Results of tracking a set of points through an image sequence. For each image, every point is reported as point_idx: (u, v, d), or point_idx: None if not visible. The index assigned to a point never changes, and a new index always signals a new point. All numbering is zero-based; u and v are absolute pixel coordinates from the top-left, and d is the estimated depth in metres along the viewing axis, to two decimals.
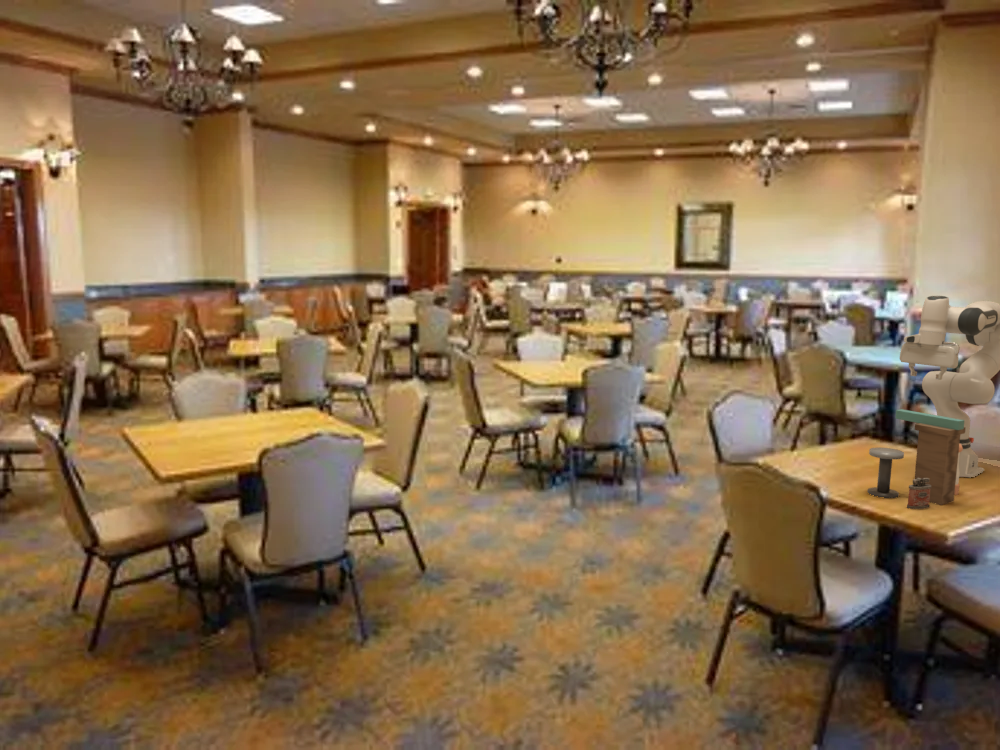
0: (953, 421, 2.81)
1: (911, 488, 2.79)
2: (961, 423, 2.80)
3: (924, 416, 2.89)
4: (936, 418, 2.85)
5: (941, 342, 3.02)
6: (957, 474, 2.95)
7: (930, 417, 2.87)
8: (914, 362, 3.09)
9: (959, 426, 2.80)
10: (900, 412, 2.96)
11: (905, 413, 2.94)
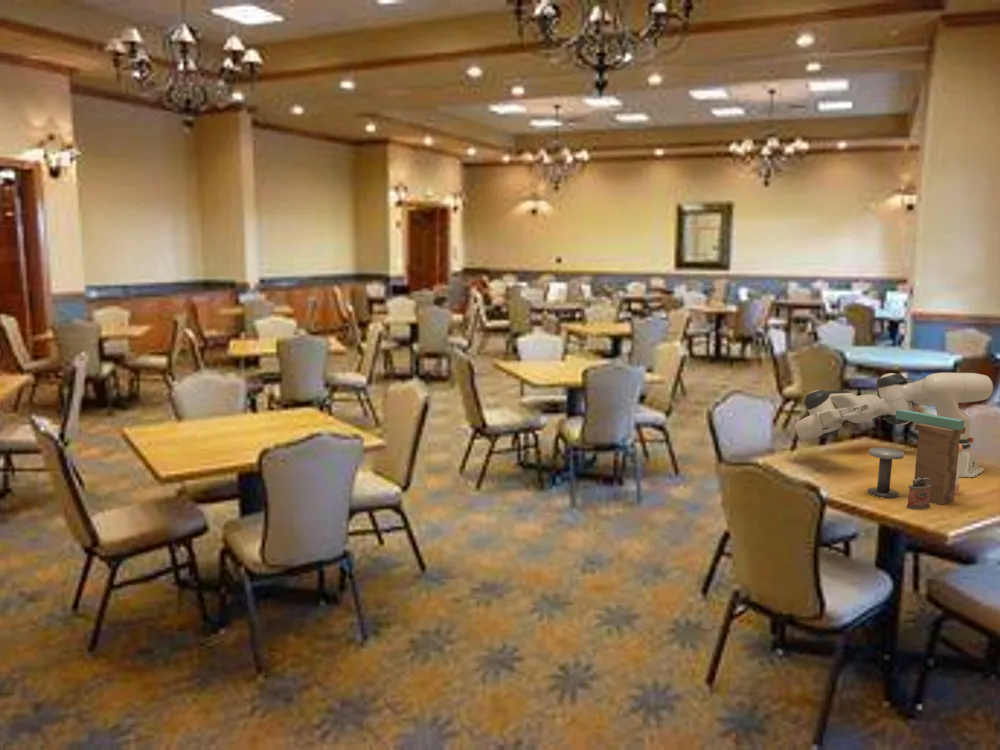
0: (953, 421, 2.81)
1: (911, 488, 2.79)
2: (961, 423, 2.80)
3: (924, 416, 2.89)
4: (936, 418, 2.85)
5: None
6: (957, 474, 2.95)
7: (930, 417, 2.87)
8: (841, 408, 3.16)
9: (959, 426, 2.80)
10: (900, 412, 2.96)
11: (905, 413, 2.94)
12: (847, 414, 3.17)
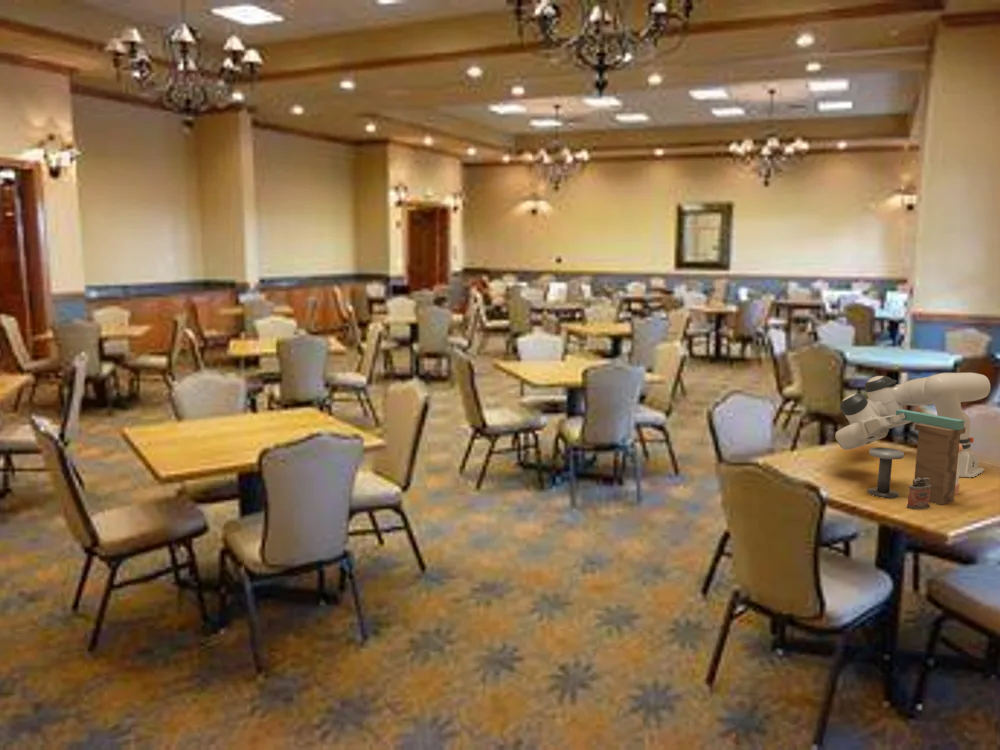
0: (953, 421, 2.81)
1: (911, 488, 2.79)
2: (961, 423, 2.80)
3: (924, 416, 2.89)
4: (936, 418, 2.85)
5: None
6: (957, 474, 2.95)
7: (930, 417, 2.87)
8: (887, 416, 2.97)
9: (959, 426, 2.80)
10: (900, 412, 2.96)
11: (905, 413, 2.94)
12: (894, 422, 2.98)
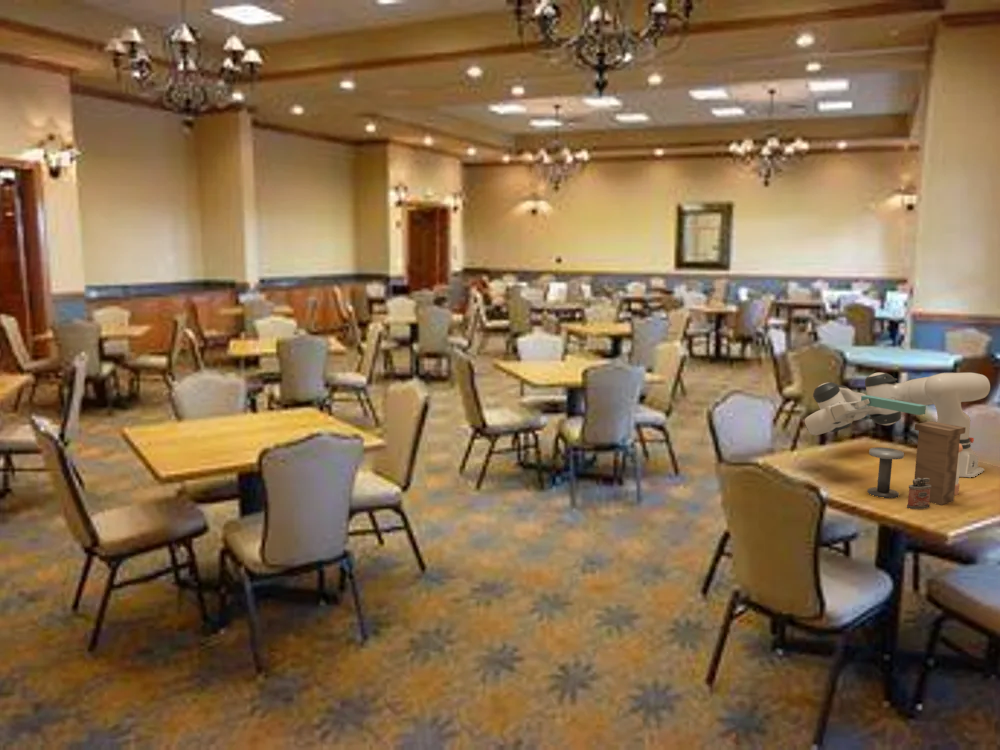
0: (915, 406, 2.87)
1: (911, 488, 2.79)
2: (922, 408, 2.86)
3: (887, 401, 2.95)
4: (899, 403, 2.91)
5: None
6: (957, 474, 2.95)
7: (893, 402, 2.93)
8: (853, 401, 3.03)
9: (921, 411, 2.86)
10: (865, 398, 3.02)
11: (870, 399, 3.00)
12: (860, 407, 3.05)
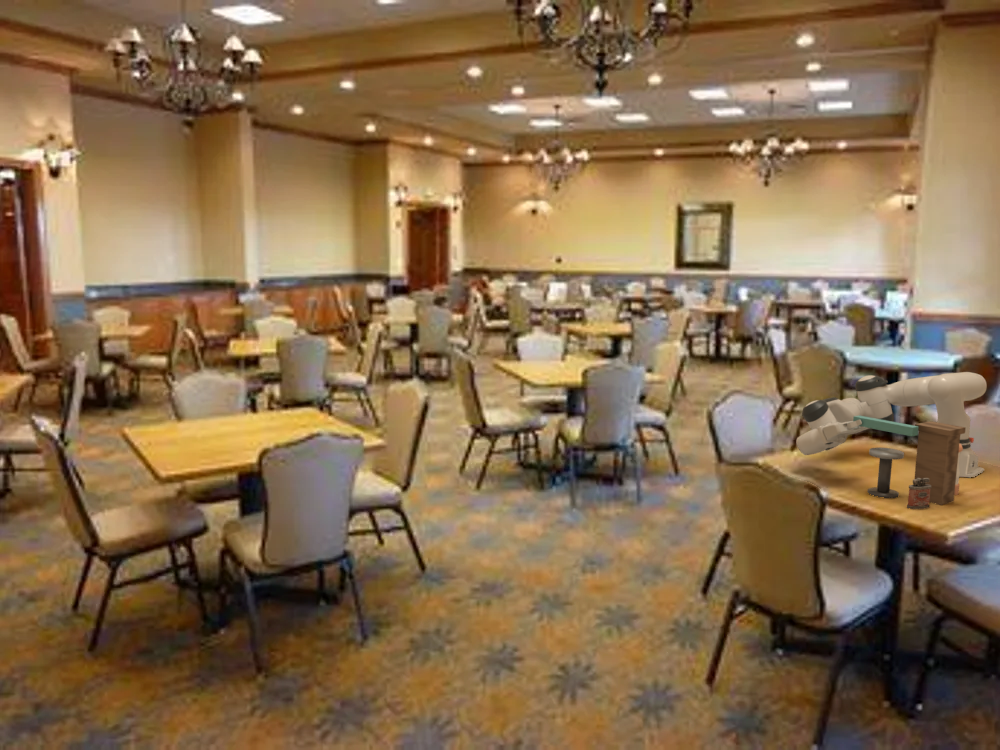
0: (907, 427, 2.84)
1: (911, 488, 2.79)
2: (915, 429, 2.84)
3: (880, 422, 2.92)
4: (891, 424, 2.89)
5: None
6: (957, 474, 2.95)
7: (885, 423, 2.90)
8: (845, 422, 3.01)
9: (913, 432, 2.83)
10: (857, 418, 2.99)
11: (862, 419, 2.98)
12: (852, 428, 3.02)
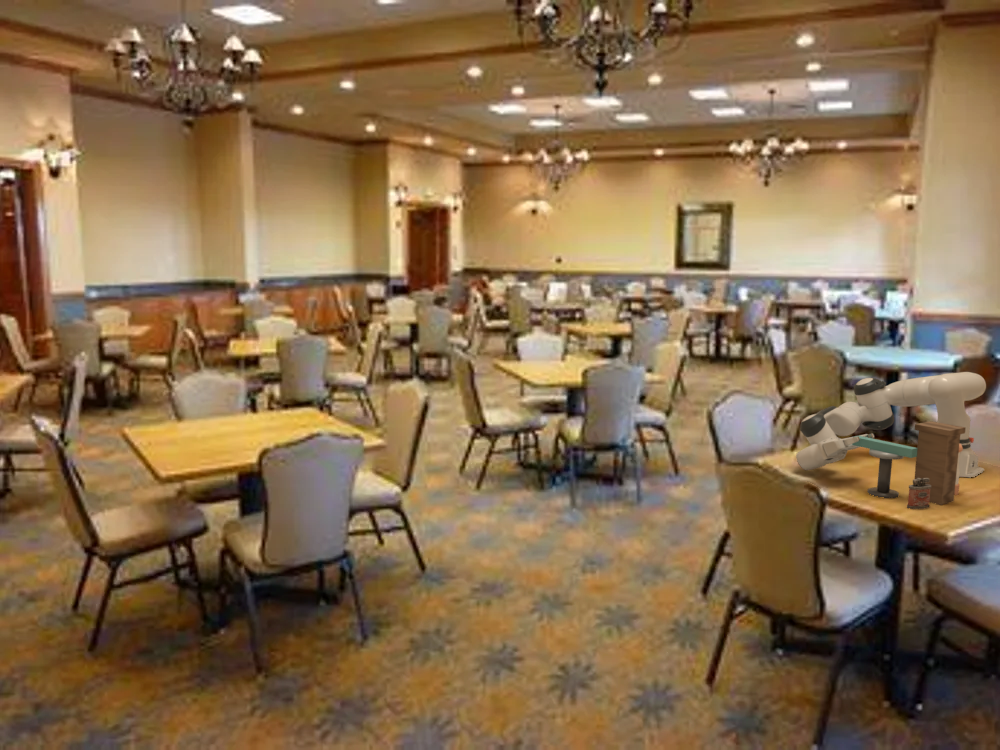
0: (906, 449, 2.85)
1: (911, 488, 2.79)
2: (914, 451, 2.85)
3: (879, 443, 2.93)
4: (890, 445, 2.90)
5: None
6: (957, 474, 2.95)
7: (885, 444, 2.92)
8: (845, 438, 3.02)
9: (912, 453, 2.85)
10: None
11: (861, 440, 2.99)
12: None
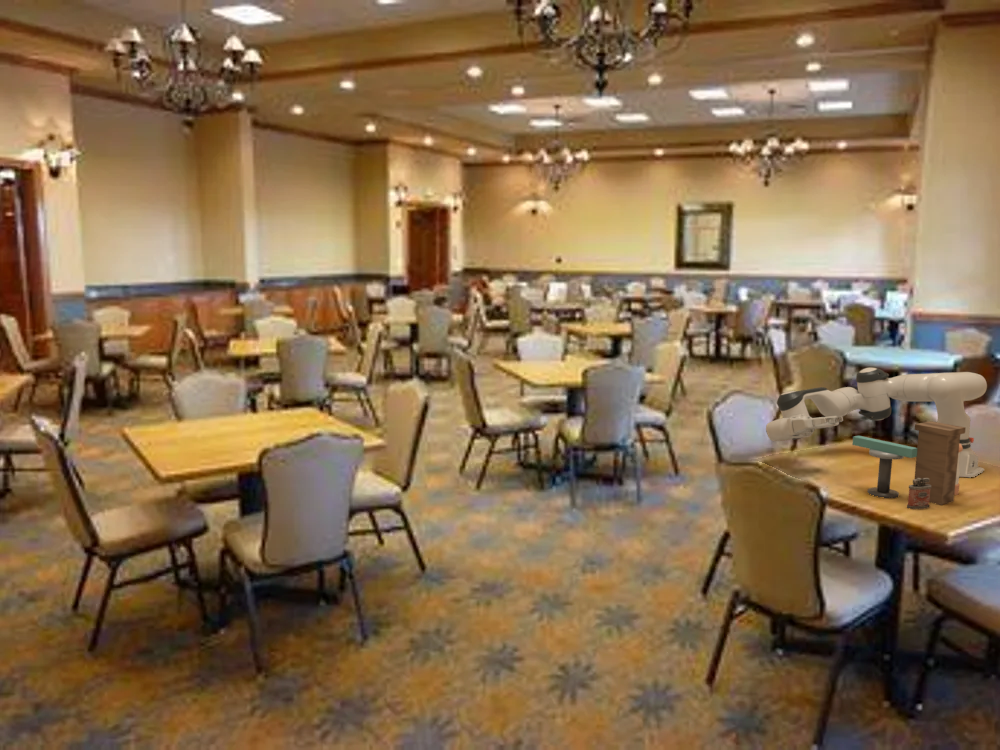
0: (906, 449, 2.85)
1: (911, 488, 2.79)
2: (914, 451, 2.85)
3: (879, 443, 2.93)
4: (890, 445, 2.90)
5: None
6: (957, 474, 2.95)
7: (885, 444, 2.92)
8: (814, 418, 3.13)
9: (912, 453, 2.85)
10: (857, 439, 3.01)
11: (861, 440, 2.99)
12: (820, 424, 3.14)
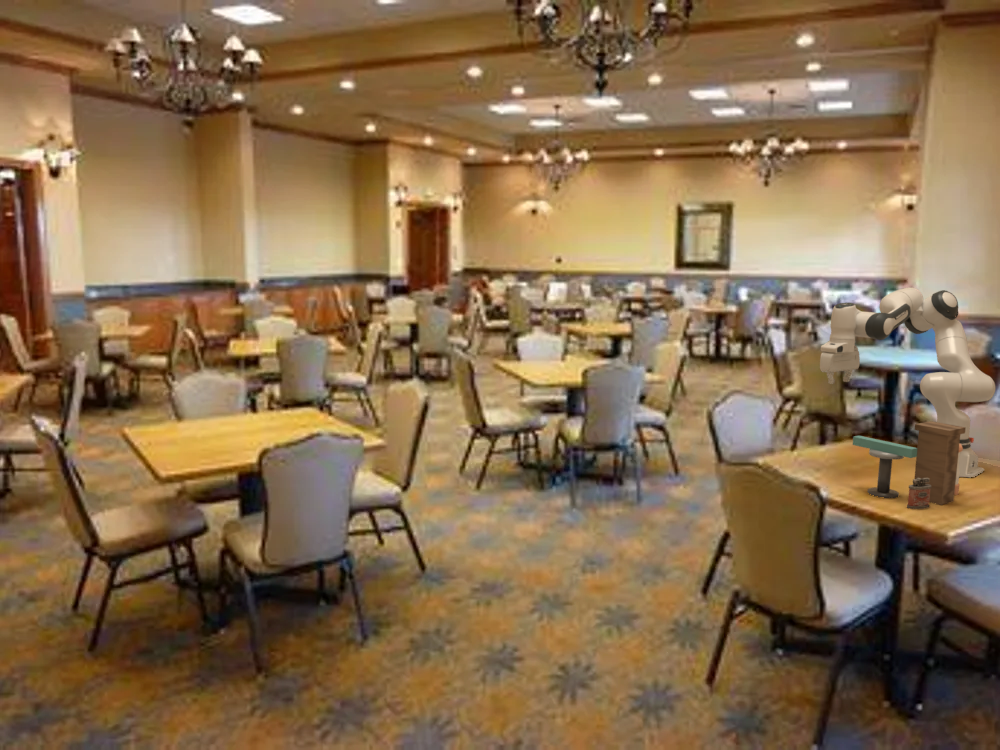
0: (906, 449, 2.85)
1: (911, 488, 2.79)
2: (914, 451, 2.85)
3: (879, 443, 2.94)
4: (890, 445, 2.90)
5: None
6: (957, 474, 2.95)
7: (885, 444, 2.92)
8: (837, 370, 3.13)
9: (912, 454, 2.84)
10: (857, 439, 3.01)
11: (861, 440, 2.99)
12: None
